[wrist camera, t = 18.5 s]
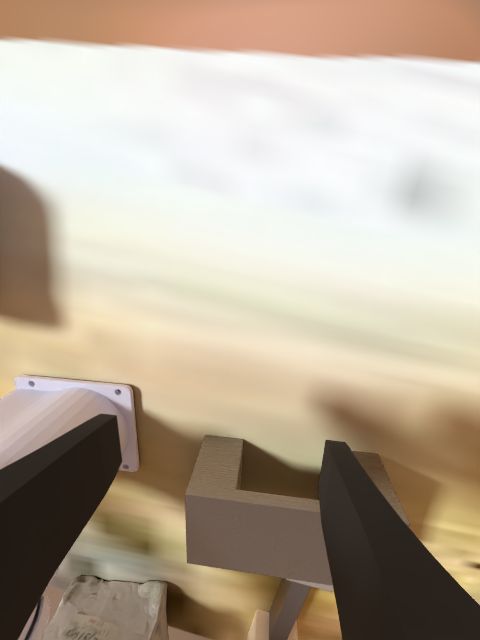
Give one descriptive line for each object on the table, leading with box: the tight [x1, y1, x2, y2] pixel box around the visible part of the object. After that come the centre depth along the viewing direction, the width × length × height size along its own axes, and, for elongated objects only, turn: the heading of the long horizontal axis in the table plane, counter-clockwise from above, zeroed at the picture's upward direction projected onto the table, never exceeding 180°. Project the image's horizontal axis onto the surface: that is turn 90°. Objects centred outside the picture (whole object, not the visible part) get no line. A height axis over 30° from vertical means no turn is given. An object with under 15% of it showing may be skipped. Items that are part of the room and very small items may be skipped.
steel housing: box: [185, 435, 410, 586], centre depth 20 cm, size 13×6×5 cm, turn 88°
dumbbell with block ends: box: [248, 578, 333, 640], centre depth 25 cm, size 4×16×3 cm, turn 168°
